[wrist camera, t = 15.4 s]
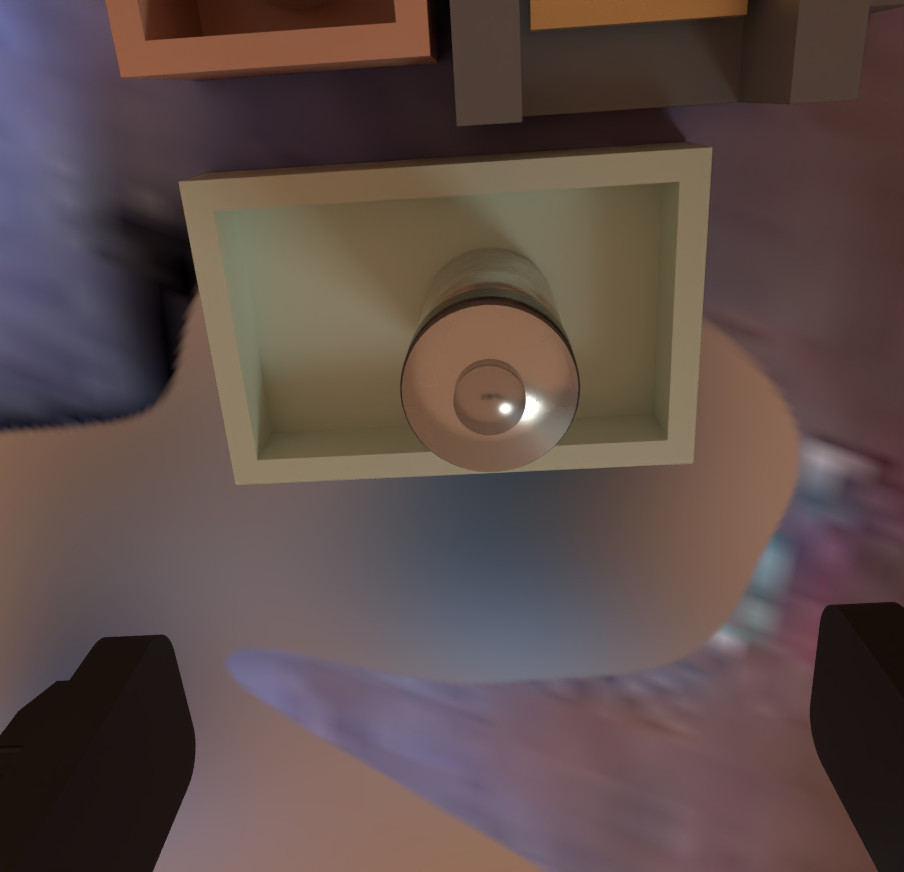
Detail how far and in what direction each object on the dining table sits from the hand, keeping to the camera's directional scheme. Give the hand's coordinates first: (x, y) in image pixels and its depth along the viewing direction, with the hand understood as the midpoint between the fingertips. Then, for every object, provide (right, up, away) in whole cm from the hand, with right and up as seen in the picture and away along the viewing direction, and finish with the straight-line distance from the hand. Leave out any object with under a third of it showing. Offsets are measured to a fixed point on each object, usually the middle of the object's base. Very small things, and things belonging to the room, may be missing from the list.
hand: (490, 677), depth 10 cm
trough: (0, +7, +15) cm, 17 cm away
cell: (+1, +7, +15) cm, 16 cm away
